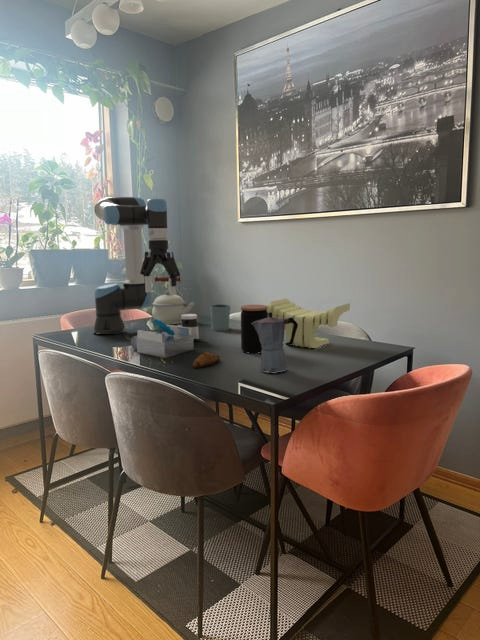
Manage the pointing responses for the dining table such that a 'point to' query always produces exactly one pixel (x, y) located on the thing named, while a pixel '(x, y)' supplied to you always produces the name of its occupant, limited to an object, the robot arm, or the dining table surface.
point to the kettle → (169, 305)
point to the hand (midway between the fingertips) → (160, 293)
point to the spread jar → (191, 324)
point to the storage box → (163, 342)
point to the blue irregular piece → (163, 327)
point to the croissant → (205, 360)
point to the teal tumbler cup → (220, 317)
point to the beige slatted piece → (305, 321)
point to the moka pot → (273, 341)
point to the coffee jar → (251, 327)
